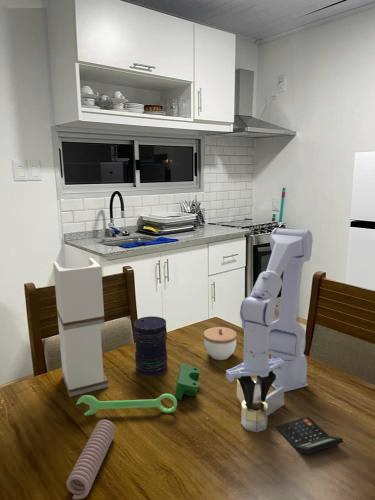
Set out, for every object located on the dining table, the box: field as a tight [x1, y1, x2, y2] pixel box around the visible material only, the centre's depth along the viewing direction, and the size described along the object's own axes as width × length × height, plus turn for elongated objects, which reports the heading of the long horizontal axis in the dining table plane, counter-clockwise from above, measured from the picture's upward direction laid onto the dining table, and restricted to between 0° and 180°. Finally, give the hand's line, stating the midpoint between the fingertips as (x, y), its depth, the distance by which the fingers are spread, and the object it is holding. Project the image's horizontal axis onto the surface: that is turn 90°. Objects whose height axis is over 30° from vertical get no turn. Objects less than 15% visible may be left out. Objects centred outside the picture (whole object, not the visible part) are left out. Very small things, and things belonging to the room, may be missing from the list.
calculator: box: [274, 416, 344, 455], centre depth 87 cm, size 9×12×3 cm
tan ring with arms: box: [236, 379, 285, 433], centre depth 97 cm, size 14×14×5 cm
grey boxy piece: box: [52, 257, 109, 398], centre depth 107 cm, size 11×11×35 cm
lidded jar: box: [203, 326, 238, 361], centre depth 125 cm, size 11×11×9 cm
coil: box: [66, 419, 116, 500], centre depth 79 cm, size 5×5×18 cm
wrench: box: [76, 393, 178, 416], centre depth 96 cm, size 25×2×5 cm, turn 93°
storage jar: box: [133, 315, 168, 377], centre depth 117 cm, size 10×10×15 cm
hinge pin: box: [248, 378, 262, 411], centre depth 90 cm, size 3×3×7 cm
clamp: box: [173, 363, 201, 401], centre depth 105 cm, size 11×6×8 cm, turn 171°
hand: (254, 401), depth 91 cm, fingers closed on hinge pin, 3 cm apart
